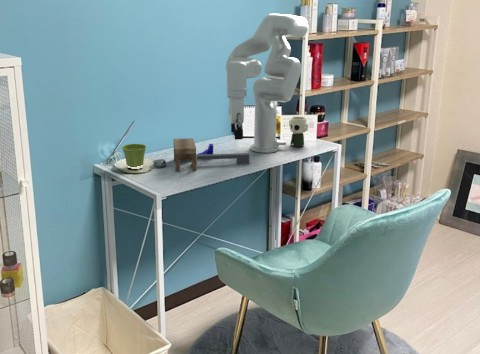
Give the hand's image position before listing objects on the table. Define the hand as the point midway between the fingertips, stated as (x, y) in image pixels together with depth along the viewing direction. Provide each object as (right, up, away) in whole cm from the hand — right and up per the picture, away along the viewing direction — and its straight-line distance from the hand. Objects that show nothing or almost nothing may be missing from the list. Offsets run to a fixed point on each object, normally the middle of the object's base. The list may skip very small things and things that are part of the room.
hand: (236, 135), depth 219 cm
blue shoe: (-16, -9, +10) cm, 21 cm away
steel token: (-31, -12, -1) cm, 33 cm away
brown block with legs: (-21, -12, 0) cm, 24 cm away
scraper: (-6, -11, +2) cm, 13 cm away
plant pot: (-40, -13, -4) cm, 42 cm away
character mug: (+27, -3, +30) cm, 41 cm away
